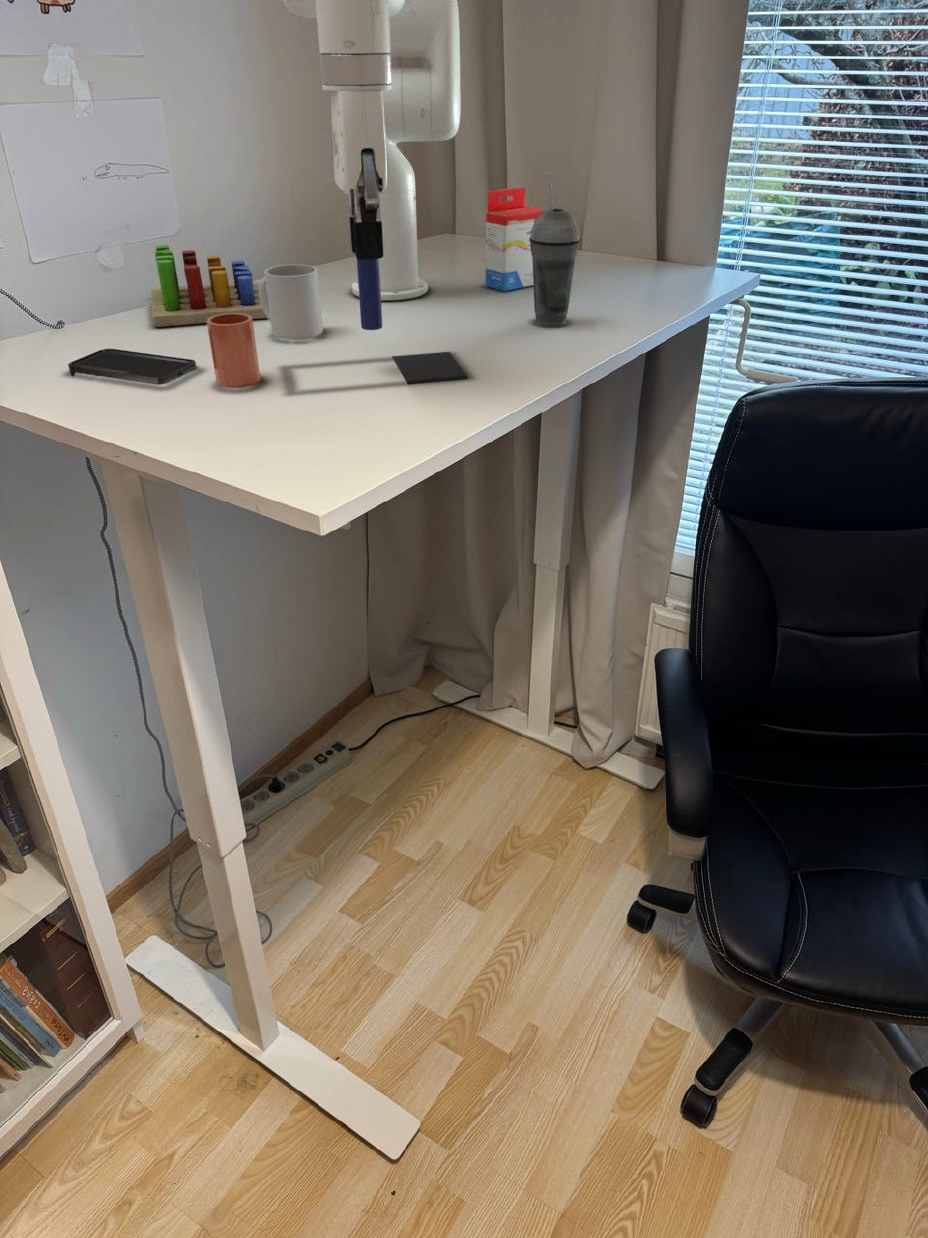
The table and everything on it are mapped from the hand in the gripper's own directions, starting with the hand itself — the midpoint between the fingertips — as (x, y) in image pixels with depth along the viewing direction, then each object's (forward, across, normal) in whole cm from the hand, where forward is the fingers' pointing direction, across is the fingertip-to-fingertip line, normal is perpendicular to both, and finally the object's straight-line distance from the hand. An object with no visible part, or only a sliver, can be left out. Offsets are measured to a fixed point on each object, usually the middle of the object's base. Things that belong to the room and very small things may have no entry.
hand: (367, 253), depth 106 cm
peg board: (+14, -37, -20) cm, 45 cm away
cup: (+14, -20, -9) cm, 26 cm away
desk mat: (+14, 0, 0) cm, 14 cm away
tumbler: (+14, 0, -17) cm, 22 cm away
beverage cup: (+14, -16, +29) cm, 36 cm away
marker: (+9, 0, 0) cm, 9 cm away
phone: (+14, -8, -30) cm, 34 cm away
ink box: (+14, -39, +30) cm, 51 cm away
